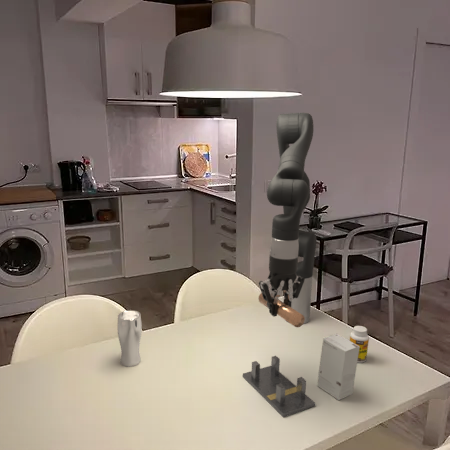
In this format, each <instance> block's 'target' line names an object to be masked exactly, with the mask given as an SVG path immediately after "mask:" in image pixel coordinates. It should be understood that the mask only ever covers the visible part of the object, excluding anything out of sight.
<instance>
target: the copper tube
mask: <svg viewBox="0 0 450 450" xmlns="http://www.w3.org/2000/svg"><path fill="white" fill-rule="evenodd" d="M258 302H259V303H260V304H261V305H263V306H265V307H266V309H268V310H269V305H270V303H268V302H267V301H265V300H264V299H263V296H262V292H261V293H260V294H259V295H258ZM277 304H278V306H277V316H278V317H280V318H282V319H283V320H285V321H286V322H287V323H289V324H290V325H291V326H293V327H295V328H300V327H303V325H304V324H305V323H304V321H305V318H304V316H303V315H302V314H300V313H299V312H297V311H296V310H294V309H293V308H291V307H289V306H288V305H286V304H285V303H283V301H281V300H280V299H279V298H278V302H277ZM303 323H304V324H303Z"/></svg>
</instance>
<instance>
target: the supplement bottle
mask: <svg viewBox="0 0 450 450" xmlns="http://www.w3.org/2000/svg"><path fill="white" fill-rule="evenodd" d="M349 340H350V341H351V342H353V343H354V344H356V345H358V346H359V354H358V360H357V364H358V363H360V364H361V363H364V362H366V361H367V357H368V350H369V349H368V348H369V341H370V336H369V334H368V328H366V327H365V326H362V325H354V327H353V330H352V331H351V332H350V335H349Z"/></svg>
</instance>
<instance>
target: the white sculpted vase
mask: <svg viewBox="0 0 450 450" xmlns="http://www.w3.org/2000/svg"><path fill="white" fill-rule="evenodd" d="M141 315H142V314H141V312H139V311H137V310H124V311H120V313H118V315H117V337H118V341H119V346H120V350H121V351H120V353H121V354H120V360H119V361H120V362H119V363H120V364H121V365H122V366H124V367H134V366H137V365H139V364H140V363H141V361H142V360H141V358H142V357H141V353H140V344H141V339H142V331H143V330H142V329H143V328H142V327H143V326H142V324H143V323H142V318H141Z"/></svg>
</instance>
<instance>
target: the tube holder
mask: <svg viewBox="0 0 450 450" xmlns="http://www.w3.org/2000/svg"><path fill="white" fill-rule="evenodd" d="M280 362H281V360H280V357H278V356H277V355H274V356H271V363H270V364H271V365H269V366H265V367H261V365H260V363H259V361H257V360H254V361H251V370H250V371H248V372H244V373H242V378H244V380H245V381H246V382H247V383H248V384H249V385H250V386H251V387H252V388H253V389H254V390H255V391H256V392H257V393H258V394H259V395H260V396H261V397H262V398H263V399H264V400H265V401H266V402H268V403H269V405H270V406H271V407H272V408H274V410H276V412H277V413H278V414H279V415H281V417H283V418H285V417H288V416H291V415H294V414H298V413H299V412H302V411H305V410H308V409H311V408H314V407H316V402H315V401H314V400H313V399H312V398H310V396H308V395H307V394H306V389H307V380H306V379H305V378H304V377H303V376H300V377H297V380H296V385H295V384H294V383H293V382H292V381H291V380H290V379H289V378H287V377H286V376H285V375H284V374H282V372H280V365H281V364H280Z"/></svg>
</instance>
